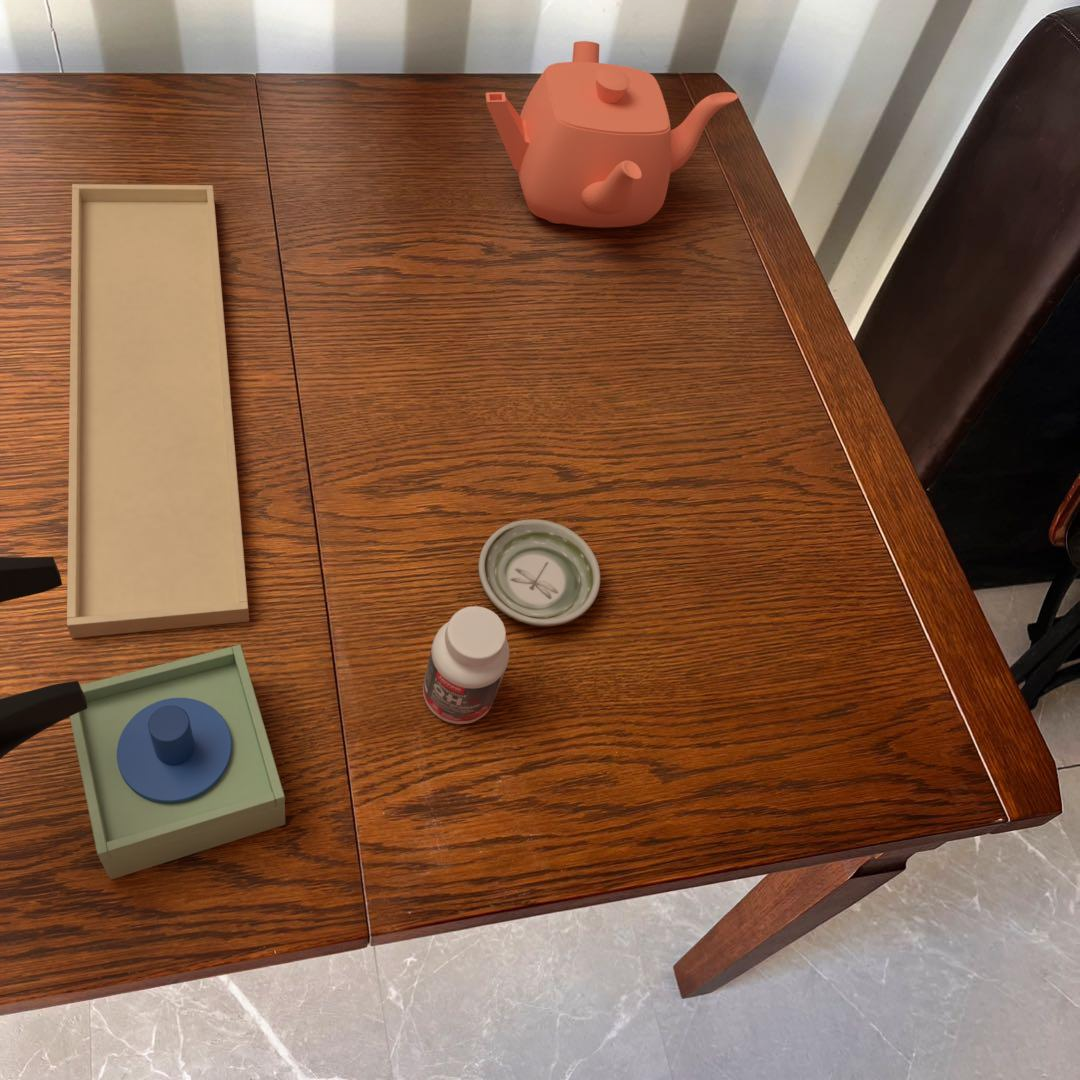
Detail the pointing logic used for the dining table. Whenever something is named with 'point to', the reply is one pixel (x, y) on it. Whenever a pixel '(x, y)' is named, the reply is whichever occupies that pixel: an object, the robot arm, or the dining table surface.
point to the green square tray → (189, 827)
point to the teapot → (597, 141)
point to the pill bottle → (466, 665)
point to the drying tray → (150, 417)
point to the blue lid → (174, 750)
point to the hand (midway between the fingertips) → (70, 630)
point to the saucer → (539, 572)
